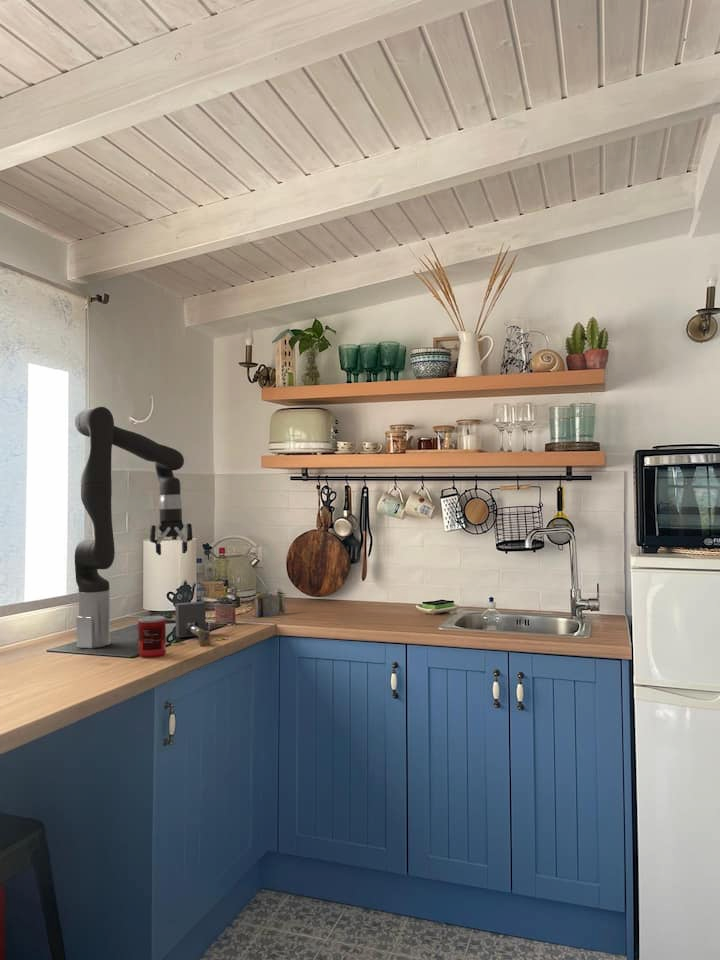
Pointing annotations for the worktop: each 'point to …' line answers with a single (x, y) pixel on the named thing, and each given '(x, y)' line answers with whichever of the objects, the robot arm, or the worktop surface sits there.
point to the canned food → (152, 636)
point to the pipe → (203, 635)
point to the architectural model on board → (269, 605)
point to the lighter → (225, 611)
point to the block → (189, 617)
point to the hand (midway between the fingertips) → (171, 553)
